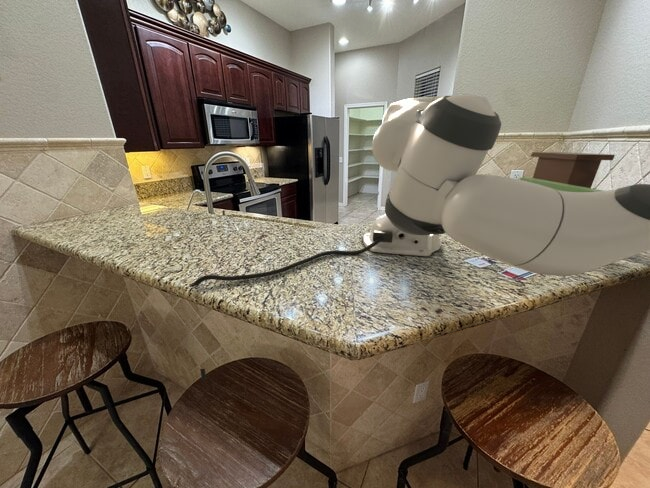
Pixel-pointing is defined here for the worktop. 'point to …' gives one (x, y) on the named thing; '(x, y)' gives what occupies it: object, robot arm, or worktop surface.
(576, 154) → the walnut pedestal
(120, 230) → the worktop surface
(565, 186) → the green bar
